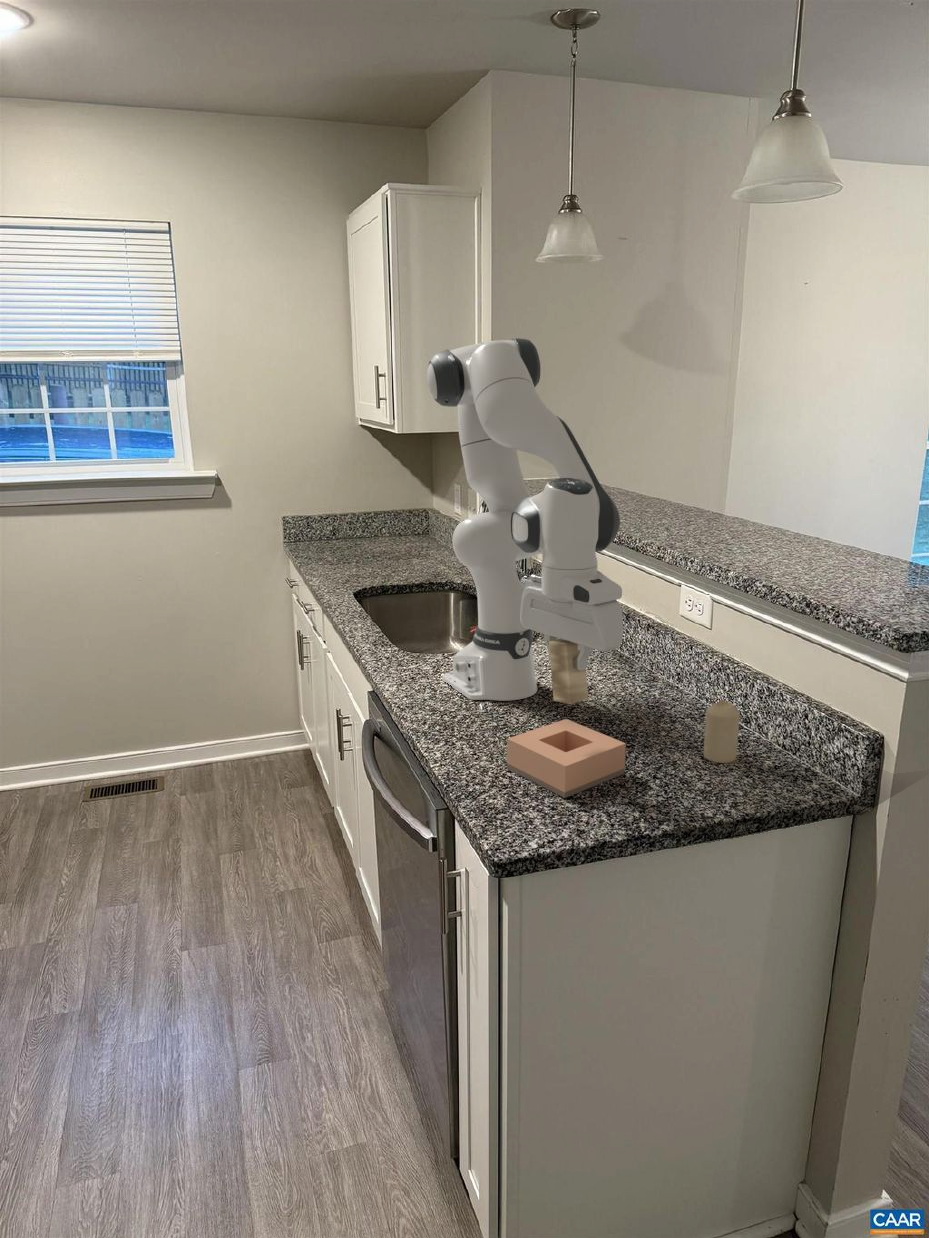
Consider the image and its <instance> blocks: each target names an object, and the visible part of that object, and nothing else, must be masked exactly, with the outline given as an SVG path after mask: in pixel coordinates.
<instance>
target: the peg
mask: <svg viewBox="0 0 929 1238" xmlns="http://www.w3.org/2000/svg"><path fill="white" fill-rule="evenodd" d="M549 650H550V660H549V661H550V671H551V672H550V673H551V683H552V696H553V702H559V703H563V704H567V705H572V704H576V703H579V702H583V701H585V700H587V699H589V693H588V679H587V668H586V669H585V670H582V671H581V670H578V669H575V668H573V665H574V663H573V659H574V658H578V656H579V654H580V650H578V644H576V643H573V642H570V641H566V640H563V639H560V638H558V639H556V640H553V641H549ZM549 650H548V651H549Z"/></svg>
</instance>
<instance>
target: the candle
mask: <svg viewBox="0 0 929 1238" xmlns="http://www.w3.org/2000/svg"><path fill="white" fill-rule="evenodd" d="M705 713H706V714H705V729H704V739H703V740H704V742H703V743H704V744H703V756H704V758H705V759H706V760H708V761H710V762H713V763H717V764H730V763H733V762H735V761H736V760H737V752H738V741H739V740H738V739H739V729H740V727H739V725H740V715H741V713H740V711H739V710H738V708H737V707H736V706H735V705H734V703H732V702H726V701H724V700H720V701H718V702H714V703H713V704H711V705H710V706H709V707H708V708H706V712H705Z"/></svg>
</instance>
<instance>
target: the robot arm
mask: <svg viewBox="0 0 929 1238" xmlns="http://www.w3.org/2000/svg"><path fill="white" fill-rule="evenodd" d="M428 361H429V362H428V368H427V373H426V376H427V377H426V379H427V380H426V381H427V387H428V390H429V391H430V393H431V395H432V396H433V400H434V401H435V402H436V403H438V405H440V406H442V407H448V408H449V407H450V408H451V407H452V408H453V407H457V427H458V436H459V437H458V438H459V442H460V443H459V444H460V449H461V455H462V456H461V457H462V460H463V461H462V462H463V466H464V472H465V475H466V481H467V485H469V487H470V489H471V490H473V491H474V492H476V493H477V494H478V495H479V496H480V497H481V498H482V500H483V502H484V503H485V505H486V506H487V509H488V511H486V512H480V513H477V514H474V515H472V516H470V517H468V518H465V519H464V520H463V521H460V522H459V523H458V524H457V525H456V527H454V531H453V534H452V539H451V540H452V541H451V543H452V549H453V552H454V554H455V556H456V558H457V559H458V561H459V562H460V563H461V564H463V566H465V567H466V568H467V570H469V572H470V574H471V577H472V580H473V582H474V584H475V585H474V586H475V589H476V595H477V596H476V597H477V620H478V621H477V624H478V625H476V626H471V627H470V629H471V630H470V633H474V635H473V638H472V641H471V642H470V643H468V644H467V645H465V646H464V647H463V648H462V649H460V650H459V651H458V652H457V653H456V654H455V655H454V657H453V661H452V670H449V671H448V672H446V673H444V674H443V675H441V676H442V678H441V680H442V682H444V683H445V682H446V683H445V684H447V683H448V684H449V685H448V684H447V685H448V686H450V685H451V686H452V687H451V686H450V687H451V688H453V689H454V690H456V691H458V692H459V693H460V694H461V693H462V695H463V696H464V697H466V698H467V699H468V700H471V701H473V700H474V701H477V700H479V701H483V700H484V701H485V700H487V701H488V700H489V701H501V702H503V701H505V702H506V701H517V700H521V699H522V700H523V699H527V698H530V697H532V696H534V695H535V694H536V693H537V692H538V685H537V684H538V682H539V678H538V676H537V675H536V667H535V659H534V656H535V655H534V649H533V647H532V644H533V636H534V633H533V631H534V632H537V633H540V634H543V641H544V644H545V646H546V648H547V651H548V660H549V661H550V650H549V641H553V640H556V639H563V640H566V641H570V642H573V643H576V644H578V650H580V654H579V656H578V658H574V659H573V663H574V665H573V668H575V669H578V670H581V671H582V670H585V669H586V670H587V668H588V660H589V658H590V656H591V654H592V653H593V651H594V650H596V651H600V652H603V653H606V652H610V651H614V650H616V649H618V648H619V647H620V646H621V644H622V642H623V634H624V632H623V631H624V621H623V619H624V618H623V609H622V605H621V604H620V602H618V601H617V600H620V599H621V598H622V596H623V588H622V586H621V585H619V584H618V583H616V582H615V581H613V579H610V578H609V577H608V576H606V575H605V574H604V573H602V572H601V571H599V570H598V558H597V554H596V552H598V553H599V552H603V551H604V550H605V549H606V548H608V547H609V546H610V545H611V543H612V542H613V541H614V540H615V539H616V537H617V535H618V532H619V531H620V527H621V526H620V525H621V517H620V513H619V510H618V507H617V505H616V503H615V502H614V501H613V499H612V498H611V496H610V495H609V494H608V493H607V491H606V490H605V489H604V488H603V486H602V485H601V483H600V481H599V479H598V478H597V476H596V474H595V473H594V470H593V469H592V466H591V464H590V463H589V461H588V459H587V458H586V455H585V454H584V452H583V450H582V448H581V447H580V445H579V443H578V441H577V439H576V438H575V435H574V433H573V432H572V430H571V429H570V427H569V426H568V424H567V423H566V422H565V420H563V419H561V418H560V417H559V416H557V415H556V414H554V412H553V411H551V410H550V409H549V408H548V407H547V405H546V404H545V403H544V401H543V400H542V399H541V397H540V396H539V394H538V392H537V390H536V387H537V386H538V384H539V382H540V380H541V372H542V365H541V364H542V363H541V358H540V355H539V353H538V350H537V348H536V345H535V344H534V343H533V342H532V341H531V340H529V339H526V338H518V337H517V338H515V337H514V338H511V339H499V340H489V341H480V342H479V343H475V344H469V345H466V346H461V347H458V348H454V349H451V350H449V349H444V350H442V351H439V352H437V353H435V354H433V355H432V357H431V358H430V360H428ZM518 451H520V452H524V453H528V454H531V455H534V456H535V457H536V456H537V457H539V458H542V459H543V460H545V461H547V462H548V463H550V464H551V466H553V467H554V469H555V470H556V472H557V474H558V476H559V478H554V479H552V480H550V481H548V482H547V483H546V484H545V486H544V488H543V490H542V491H541V492H538V493H537V494H534V495H532V494H531V493H530V491H529V489H528V486H527V485H526V482H525V480H524V477H523V474H522V470H521V466H520V465H521V464H520V460H519V455H518ZM539 554H542V561H541V575H539V574H532V573H531V575H530V576H528V577H527V578H526V579H525V581H524V583H523V582H521V580H520V578H519V576H518V572H517V568H516V565H517V561H521V560H525V559H529V558H532V557H535V556H536V555H539Z"/></svg>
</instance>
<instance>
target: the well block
mask: <svg viewBox="0 0 929 1238" xmlns="http://www.w3.org/2000/svg"><path fill="white" fill-rule="evenodd" d="M626 744H627V743H625V742H623V741H621V740H619V739H617V738H613V737H611V736H609V735H607V734H604V733H602V732H599V731H596V730H594V729H592V728H590V727H587V726H585V725H583V724H582V725H581V724H580V723H577V722H575V721H572V720H569V719H567V718H565V719H562V720H559V721H556V722H553V723H550V724H547V725H544V726H541V727H538V728H535V729H532V730H529V731H526V732H523V733H520V734H516V735H514V736H511V737H507V739H506V769H508V770H509V771H511V772H512V773H515V774H517V775H519V776H521V777H523V778H525V779H527V780H529V781H531V782H533V783H534V784H537V785H539V786H540V787H541V788H544V789H546V790H548V791H550V792H552V793H554V794H556V795H558V796H559V797H561V798H563V799H565V798H568V797H572V796H573V795H577V794H578V793H581V792H583V791H586V790H587V789H591V788H592V787H596V786H597V785H600V784H602V783H603V784H604V783H605V782H608V781H610V780H613V779H614V778H617V777H620V776H622V775H625V769H626V768H625V767H626V748H627V746H626Z"/></svg>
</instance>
